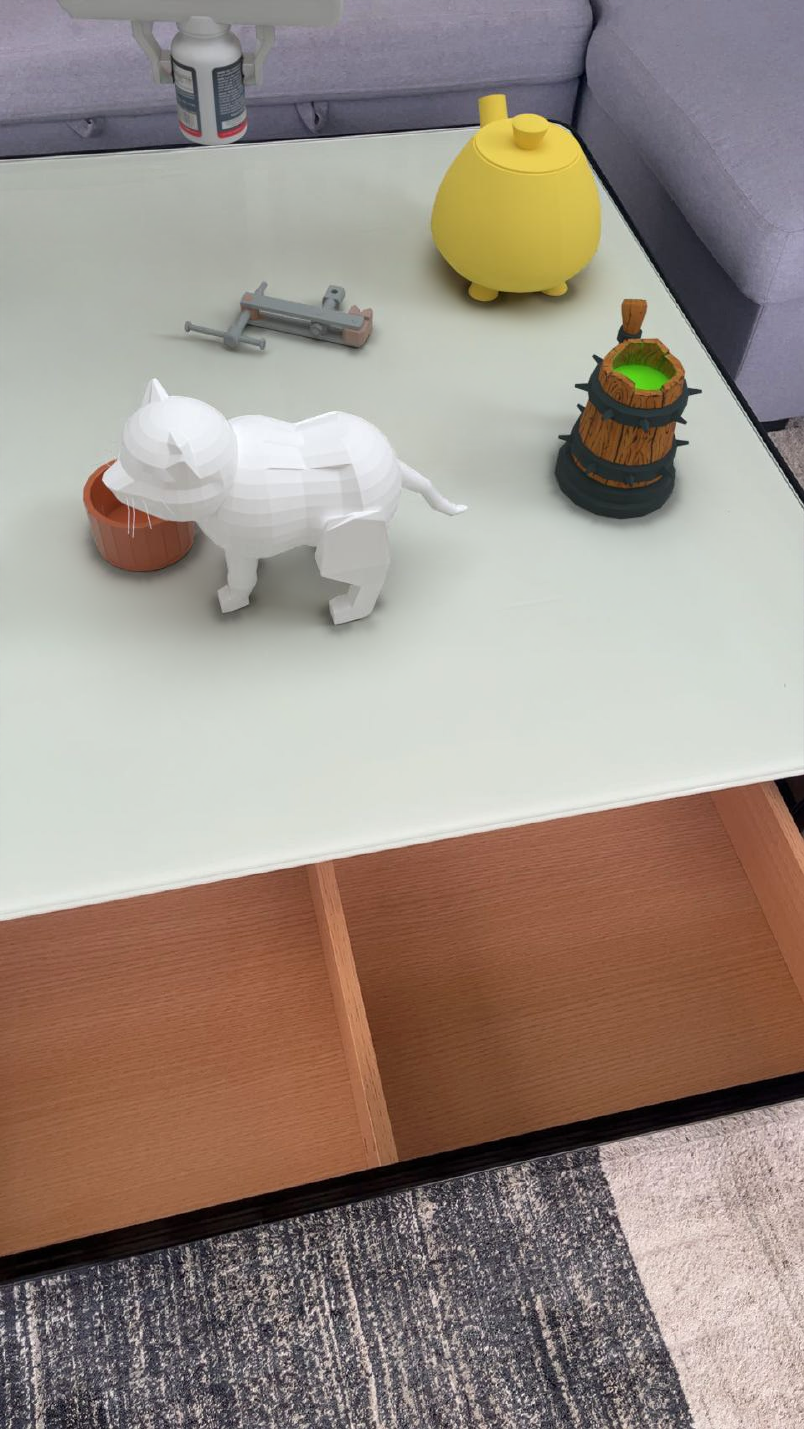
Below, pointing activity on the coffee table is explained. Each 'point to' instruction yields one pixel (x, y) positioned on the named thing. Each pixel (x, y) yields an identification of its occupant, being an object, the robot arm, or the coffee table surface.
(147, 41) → the robot arm
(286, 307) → the clamp
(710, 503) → the coffee table surface
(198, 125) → the pill bottle
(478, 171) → the teapot
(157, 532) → the cup
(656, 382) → the mug
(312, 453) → the cat figurine
